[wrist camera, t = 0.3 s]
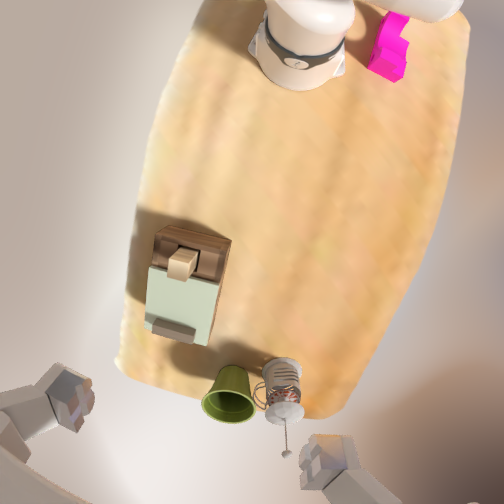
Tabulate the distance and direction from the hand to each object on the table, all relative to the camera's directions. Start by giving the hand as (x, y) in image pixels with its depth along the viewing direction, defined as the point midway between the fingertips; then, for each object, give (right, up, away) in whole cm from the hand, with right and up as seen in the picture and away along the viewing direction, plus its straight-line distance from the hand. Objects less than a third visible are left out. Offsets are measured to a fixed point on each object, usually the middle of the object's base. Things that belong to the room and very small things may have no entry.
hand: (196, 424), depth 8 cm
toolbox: (-11, 0, +49) cm, 50 cm away
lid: (-12, -4, +42) cm, 44 cm away
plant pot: (-2, -24, +56) cm, 61 cm away
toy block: (+30, +48, +33) cm, 65 cm away
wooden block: (-9, +7, +46) cm, 47 cm away
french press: (+8, -23, +55) cm, 60 cm away
